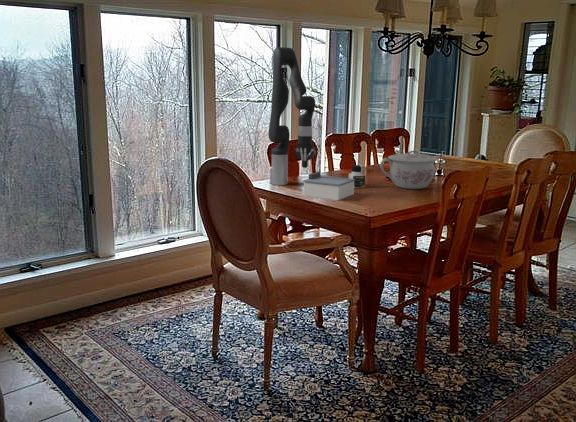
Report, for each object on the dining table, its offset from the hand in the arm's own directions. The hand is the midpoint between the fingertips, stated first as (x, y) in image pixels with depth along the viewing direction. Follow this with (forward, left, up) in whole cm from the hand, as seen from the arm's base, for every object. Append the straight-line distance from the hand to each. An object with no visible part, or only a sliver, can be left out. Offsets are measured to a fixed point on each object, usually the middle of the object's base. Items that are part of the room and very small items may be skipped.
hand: (304, 167), depth 295 cm
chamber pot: (+43, +45, -13) cm, 64 cm away
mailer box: (+15, 0, -13) cm, 20 cm away
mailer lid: (+15, 0, -6) cm, 16 cm away
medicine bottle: (+17, +29, -13) cm, 36 cm away
